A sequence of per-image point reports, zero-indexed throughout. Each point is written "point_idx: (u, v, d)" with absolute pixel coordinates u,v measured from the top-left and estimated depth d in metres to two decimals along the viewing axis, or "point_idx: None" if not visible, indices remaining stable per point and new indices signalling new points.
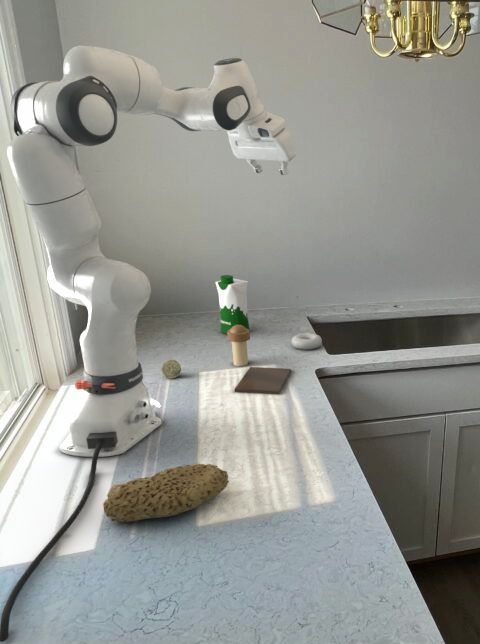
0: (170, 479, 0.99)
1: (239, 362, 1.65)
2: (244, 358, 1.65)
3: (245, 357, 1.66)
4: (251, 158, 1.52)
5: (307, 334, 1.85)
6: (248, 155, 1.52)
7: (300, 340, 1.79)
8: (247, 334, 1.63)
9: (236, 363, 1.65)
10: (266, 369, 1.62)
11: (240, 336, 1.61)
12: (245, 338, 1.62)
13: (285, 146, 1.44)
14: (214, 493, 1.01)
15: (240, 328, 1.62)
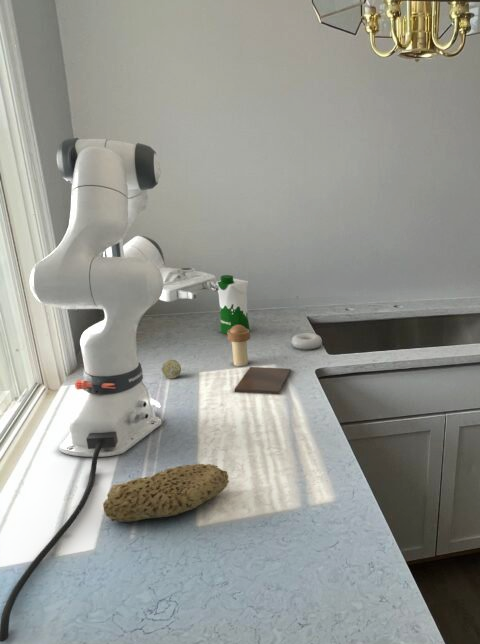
0: (170, 479, 0.99)
1: (239, 362, 1.65)
2: (244, 358, 1.65)
3: (245, 357, 1.66)
4: (183, 285, 1.63)
5: (307, 334, 1.85)
6: (179, 285, 1.63)
7: (300, 340, 1.79)
8: (247, 334, 1.63)
9: (236, 363, 1.65)
10: (266, 369, 1.62)
11: (240, 336, 1.61)
12: (245, 338, 1.62)
13: None
14: (214, 493, 1.01)
15: (240, 328, 1.62)
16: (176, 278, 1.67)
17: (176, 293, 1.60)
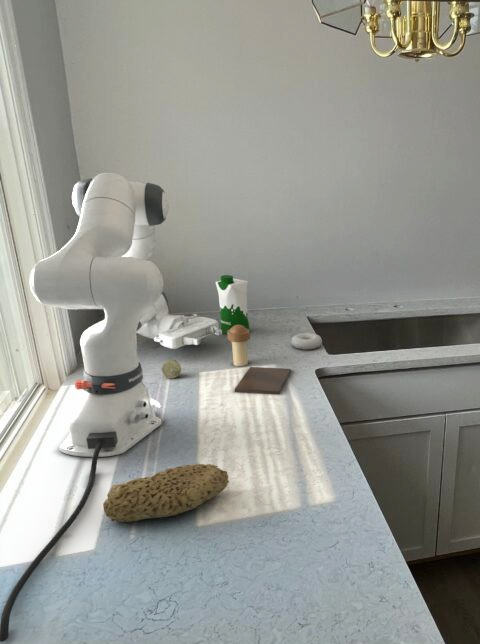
0: (170, 479, 0.99)
1: (239, 362, 1.65)
2: (244, 358, 1.65)
3: (245, 357, 1.66)
4: (187, 332, 1.68)
5: (307, 334, 1.85)
6: (184, 332, 1.67)
7: (300, 340, 1.79)
8: (247, 334, 1.63)
9: (236, 363, 1.65)
10: (266, 369, 1.62)
11: (240, 336, 1.61)
12: (245, 338, 1.62)
13: None
14: (214, 493, 1.01)
15: (240, 328, 1.62)
16: (180, 325, 1.72)
17: (181, 340, 1.65)
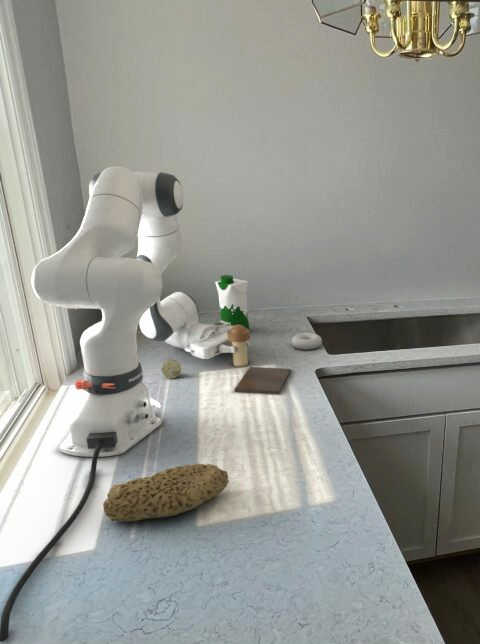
0: (170, 479, 0.99)
1: (239, 362, 1.65)
2: (244, 358, 1.65)
3: (245, 357, 1.66)
4: (219, 342, 1.63)
5: (307, 334, 1.85)
6: (215, 341, 1.63)
7: (300, 340, 1.79)
8: (247, 334, 1.63)
9: (236, 363, 1.65)
10: (266, 369, 1.62)
11: (240, 336, 1.61)
12: (245, 338, 1.62)
13: None
14: (214, 493, 1.01)
15: (240, 328, 1.62)
16: (211, 334, 1.67)
17: (213, 350, 1.61)
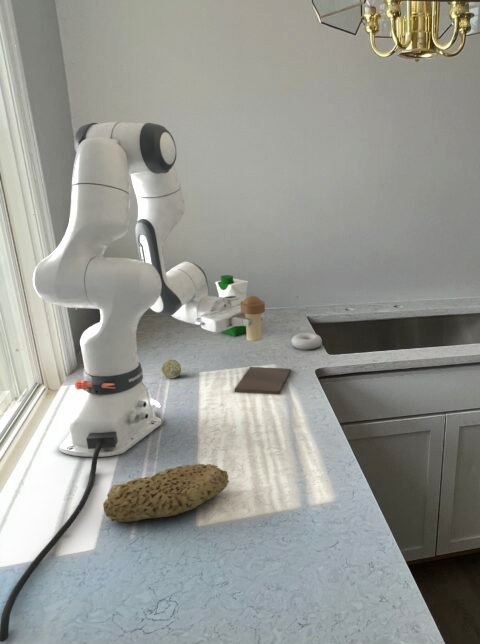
0: (170, 479, 0.99)
1: (253, 336, 1.52)
2: (259, 332, 1.53)
3: (259, 331, 1.53)
4: (232, 314, 1.51)
5: (307, 334, 1.85)
6: (227, 314, 1.51)
7: (300, 340, 1.79)
8: (262, 306, 1.50)
9: (250, 338, 1.53)
10: (266, 369, 1.62)
11: (254, 308, 1.49)
12: (260, 310, 1.50)
13: None
14: (214, 493, 1.01)
15: (254, 299, 1.49)
16: (222, 307, 1.55)
17: (225, 323, 1.48)
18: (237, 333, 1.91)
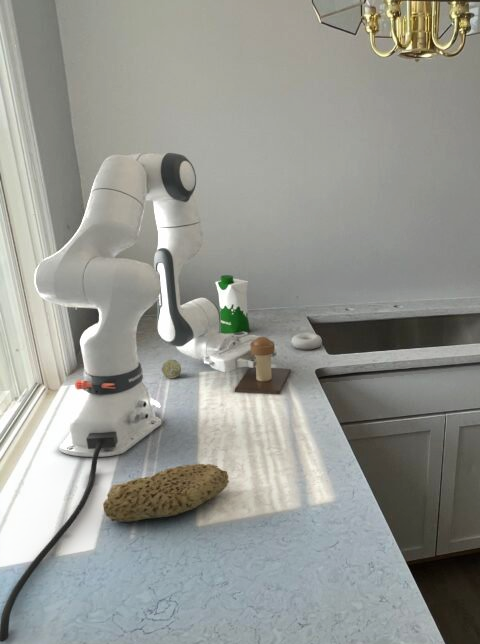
0: (170, 479, 0.99)
1: (263, 377, 1.53)
2: (268, 373, 1.54)
3: (269, 371, 1.54)
4: (241, 353, 1.51)
5: (307, 334, 1.85)
6: (237, 353, 1.51)
7: (300, 340, 1.79)
8: (272, 347, 1.51)
9: (260, 378, 1.54)
10: None
11: (264, 349, 1.50)
12: (270, 351, 1.51)
13: None
14: (214, 493, 1.01)
15: (264, 341, 1.50)
16: (231, 345, 1.55)
17: (235, 362, 1.49)
18: None
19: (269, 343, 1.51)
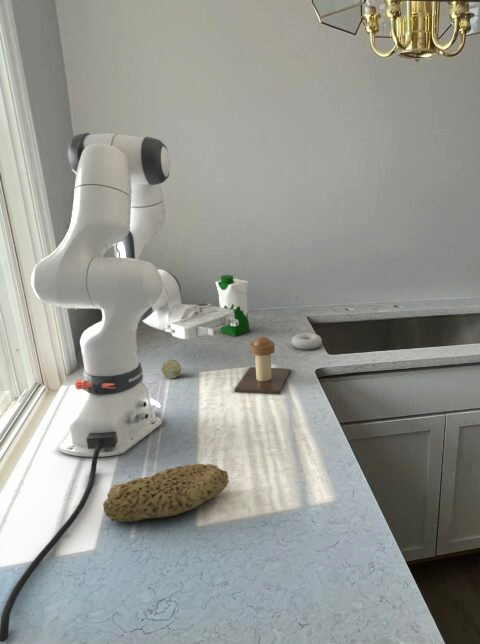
0: (170, 479, 0.99)
1: (263, 377, 1.53)
2: (268, 373, 1.54)
3: (269, 371, 1.54)
4: (202, 322, 1.54)
5: (307, 334, 1.85)
6: (198, 321, 1.53)
7: (300, 340, 1.79)
8: (272, 347, 1.51)
9: (260, 378, 1.54)
10: None
11: (264, 349, 1.50)
12: (270, 351, 1.51)
13: None
14: (214, 493, 1.01)
15: (264, 341, 1.50)
16: (193, 315, 1.58)
17: (195, 330, 1.51)
18: (237, 333, 1.91)
19: (269, 343, 1.51)
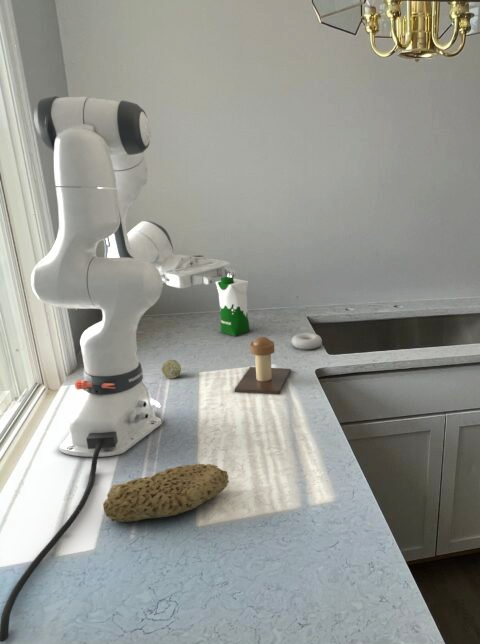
0: (170, 479, 0.99)
1: (263, 377, 1.53)
2: (268, 373, 1.54)
3: (269, 371, 1.54)
4: (197, 271, 1.48)
5: (307, 334, 1.85)
6: (193, 270, 1.48)
7: (300, 340, 1.79)
8: (272, 347, 1.51)
9: (260, 378, 1.54)
10: None
11: (264, 349, 1.50)
12: (270, 351, 1.51)
13: None
14: (214, 493, 1.01)
15: (264, 341, 1.50)
16: (188, 265, 1.52)
17: (190, 279, 1.46)
18: (237, 333, 1.91)
19: (269, 343, 1.51)
